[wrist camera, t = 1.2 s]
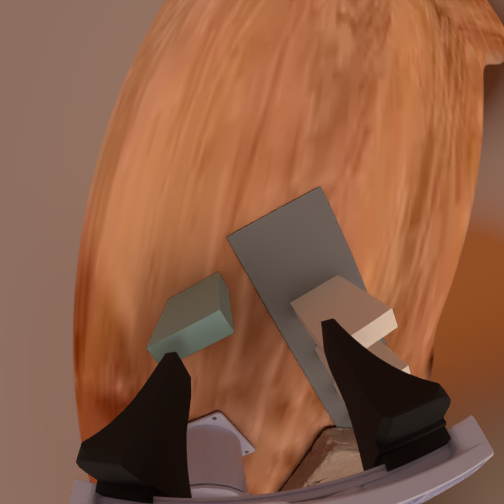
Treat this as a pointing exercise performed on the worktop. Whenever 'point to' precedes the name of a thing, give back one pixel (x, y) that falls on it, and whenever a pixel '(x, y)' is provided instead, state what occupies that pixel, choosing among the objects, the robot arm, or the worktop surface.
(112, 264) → the worktop surface
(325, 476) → the brick
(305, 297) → the ivory domino
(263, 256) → the mat
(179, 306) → the teal domino
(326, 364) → the ivory domino
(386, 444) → the robot arm
